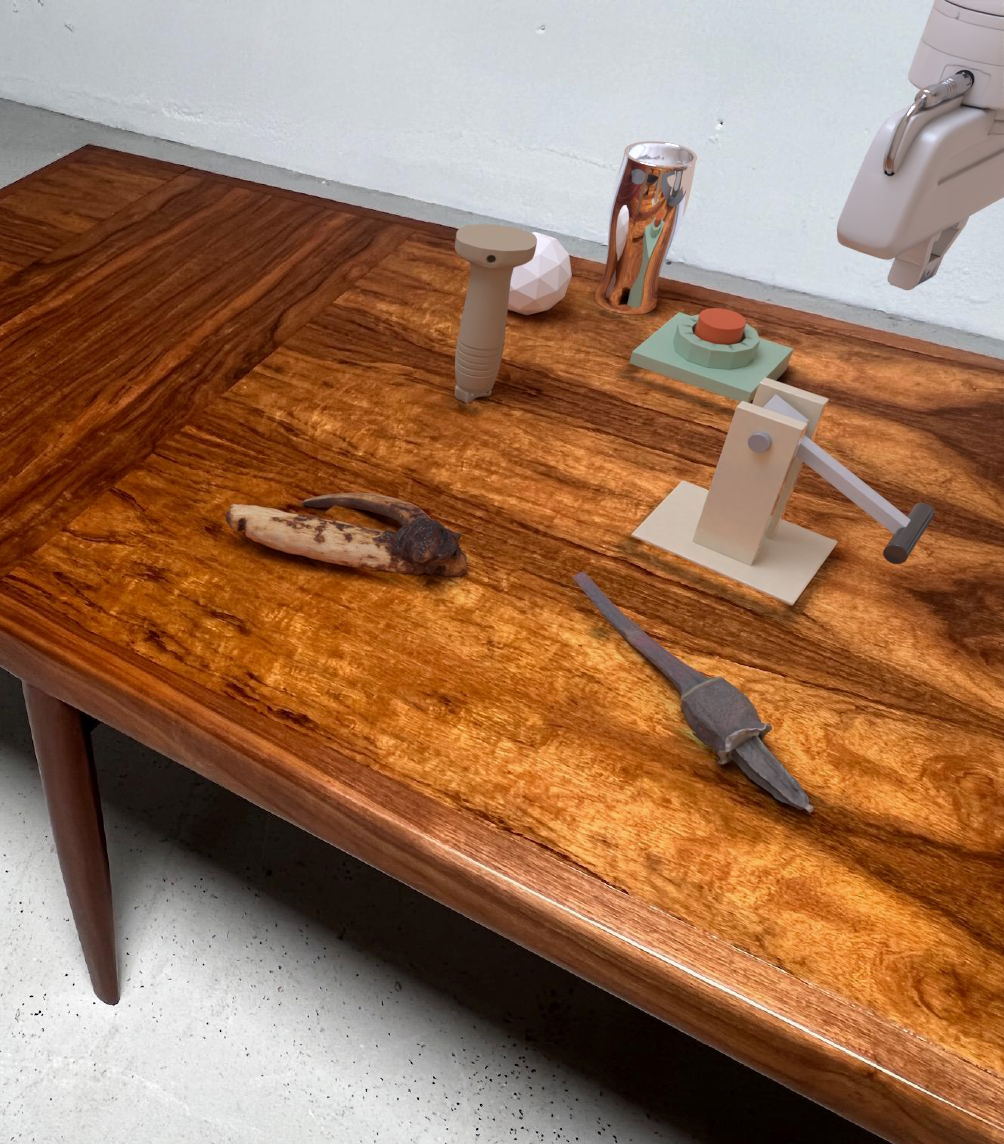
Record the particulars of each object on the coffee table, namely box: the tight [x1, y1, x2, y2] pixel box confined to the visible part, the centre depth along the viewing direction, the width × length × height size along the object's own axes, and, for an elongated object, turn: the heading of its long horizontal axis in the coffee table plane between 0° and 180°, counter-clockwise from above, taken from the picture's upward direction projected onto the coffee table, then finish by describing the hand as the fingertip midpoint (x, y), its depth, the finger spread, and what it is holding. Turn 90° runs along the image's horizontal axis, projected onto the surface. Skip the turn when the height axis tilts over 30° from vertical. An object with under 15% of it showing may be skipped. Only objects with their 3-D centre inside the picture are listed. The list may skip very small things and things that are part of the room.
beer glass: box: [594, 140, 698, 316], centre depth 109 cm, size 7×7×15 cm
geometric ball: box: [508, 231, 573, 316], centre depth 110 cm, size 8×8×8 cm
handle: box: [454, 223, 537, 405], centre depth 95 cm, size 5×6×15 cm
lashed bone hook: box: [225, 492, 468, 577], centre depth 83 cm, size 9×5×18 cm
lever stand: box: [630, 377, 839, 607], centre depth 79 cm, size 12×9×13 cm
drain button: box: [694, 307, 747, 345], centre depth 100 cm, size 4×4×2 cm
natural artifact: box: [571, 571, 815, 814], centre depth 71 cm, size 4×23×4 cm
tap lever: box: [763, 394, 936, 565], centre depth 75 cm, size 13×6×2 cm, turn 49°
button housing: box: [629, 311, 794, 403], centre depth 102 cm, size 11×10×4 cm
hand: (909, 281), depth 73 cm, fingers closed
